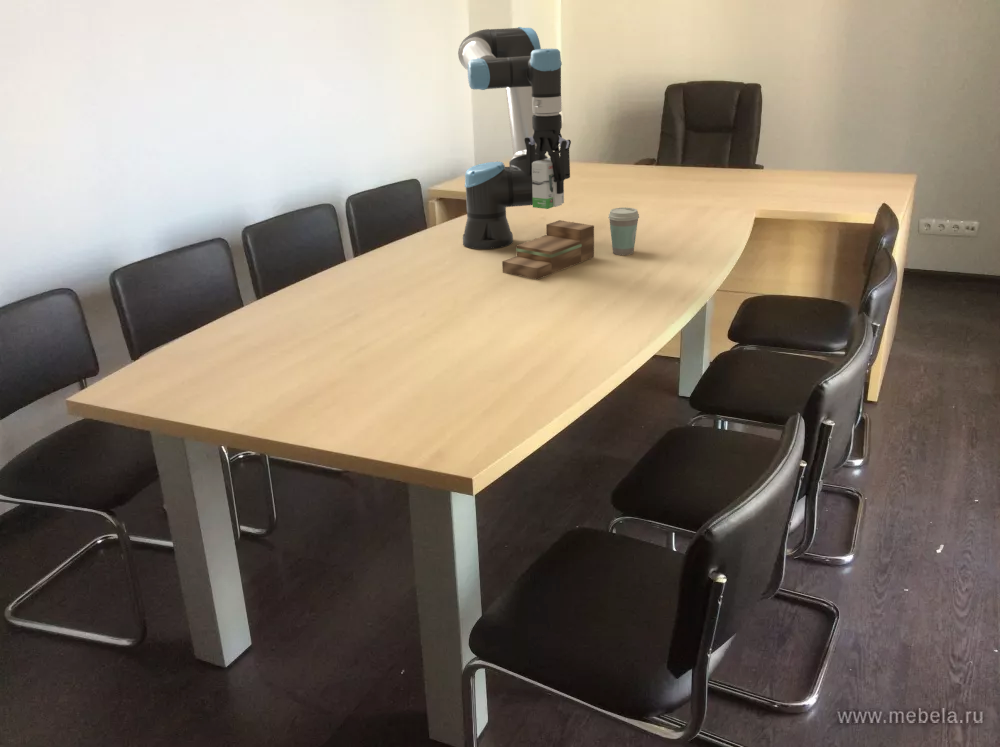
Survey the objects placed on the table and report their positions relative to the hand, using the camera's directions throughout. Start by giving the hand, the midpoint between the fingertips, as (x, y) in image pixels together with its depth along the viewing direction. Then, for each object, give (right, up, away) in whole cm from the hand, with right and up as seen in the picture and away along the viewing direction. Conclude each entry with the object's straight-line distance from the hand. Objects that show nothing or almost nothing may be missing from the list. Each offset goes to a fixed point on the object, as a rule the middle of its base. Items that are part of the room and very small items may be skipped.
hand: (548, 204), depth 224 cm
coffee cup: (+22, -11, +14) cm, 29 cm away
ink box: (0, -1, 0) cm, 0 cm away
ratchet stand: (+1, -15, +6) cm, 16 cm away
